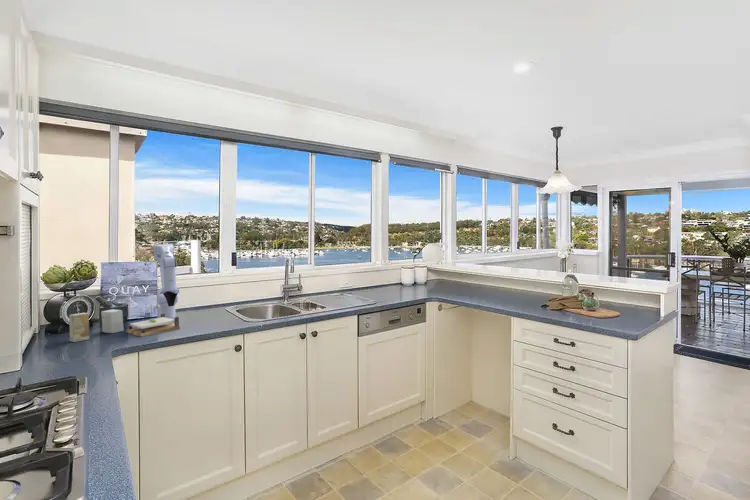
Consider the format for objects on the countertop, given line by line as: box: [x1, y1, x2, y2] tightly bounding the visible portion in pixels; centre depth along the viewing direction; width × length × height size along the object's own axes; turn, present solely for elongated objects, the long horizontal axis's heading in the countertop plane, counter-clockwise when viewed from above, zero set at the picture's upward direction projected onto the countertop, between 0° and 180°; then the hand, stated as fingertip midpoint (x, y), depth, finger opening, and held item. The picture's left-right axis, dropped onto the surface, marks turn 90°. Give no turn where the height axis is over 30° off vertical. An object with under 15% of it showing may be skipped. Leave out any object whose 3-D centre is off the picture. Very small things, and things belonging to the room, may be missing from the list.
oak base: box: [126, 314, 181, 338], centre depth 189 cm, size 16×18×6 cm
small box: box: [100, 308, 124, 334], centre depth 189 cm, size 8×6×10 cm
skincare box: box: [68, 312, 90, 343], centre depth 174 cm, size 6×4×12 cm
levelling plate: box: [129, 317, 175, 329], centre depth 189 cm, size 12×17×2 cm
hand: (171, 306), depth 198 cm, fingers closed
